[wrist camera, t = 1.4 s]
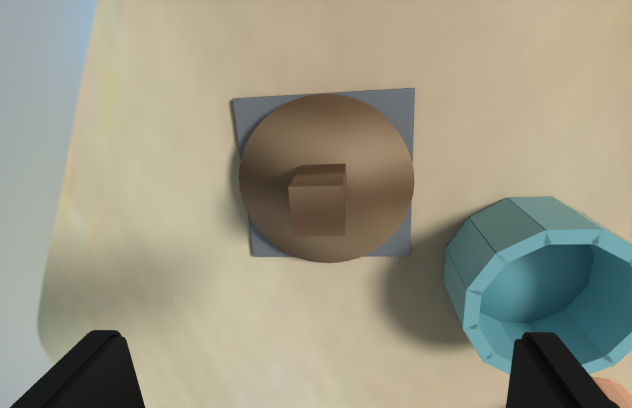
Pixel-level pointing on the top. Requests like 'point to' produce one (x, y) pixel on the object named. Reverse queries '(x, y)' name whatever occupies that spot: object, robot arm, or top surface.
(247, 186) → the lid
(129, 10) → the top surface
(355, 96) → the mat
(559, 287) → the bowl
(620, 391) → the salt shaker
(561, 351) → the robot arm
